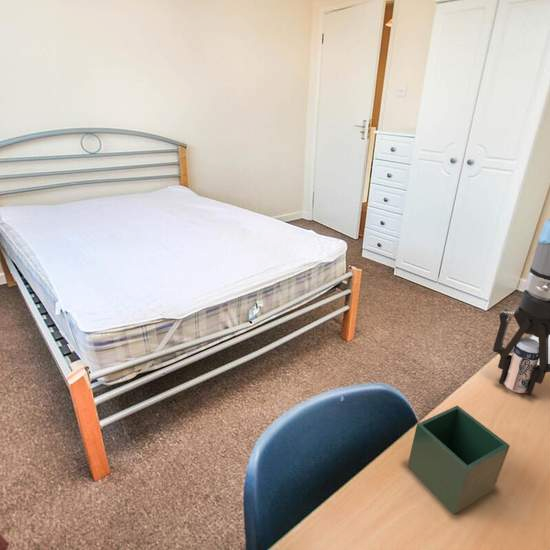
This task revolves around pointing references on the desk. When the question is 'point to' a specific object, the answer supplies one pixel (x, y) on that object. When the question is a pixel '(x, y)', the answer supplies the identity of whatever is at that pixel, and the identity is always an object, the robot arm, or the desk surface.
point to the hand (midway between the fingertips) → (515, 386)
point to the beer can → (522, 365)
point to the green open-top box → (456, 457)
